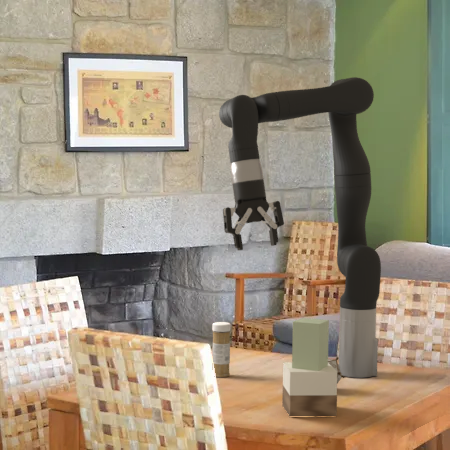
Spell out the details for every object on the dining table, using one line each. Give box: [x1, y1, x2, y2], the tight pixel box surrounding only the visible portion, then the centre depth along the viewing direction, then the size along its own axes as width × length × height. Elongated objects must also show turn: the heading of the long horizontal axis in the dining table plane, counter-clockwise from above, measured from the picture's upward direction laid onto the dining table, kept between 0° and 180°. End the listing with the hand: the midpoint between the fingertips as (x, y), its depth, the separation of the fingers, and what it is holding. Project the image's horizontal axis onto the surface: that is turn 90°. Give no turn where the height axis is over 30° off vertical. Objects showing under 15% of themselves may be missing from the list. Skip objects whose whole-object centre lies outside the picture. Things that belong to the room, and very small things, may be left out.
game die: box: [328, 356, 346, 385], centre depth 227 cm, size 9×8×10 cm
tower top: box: [282, 361, 338, 396], centre depth 207 cm, size 10×10×5 cm
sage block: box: [291, 317, 330, 371], centre depth 207 cm, size 6×6×10 cm
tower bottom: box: [281, 385, 338, 417], centre depth 208 cm, size 10×10×5 cm
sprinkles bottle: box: [211, 321, 231, 378], centre depth 241 cm, size 5×5×13 cm
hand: (257, 247), depth 228 cm, fingers open, 8 cm apart
